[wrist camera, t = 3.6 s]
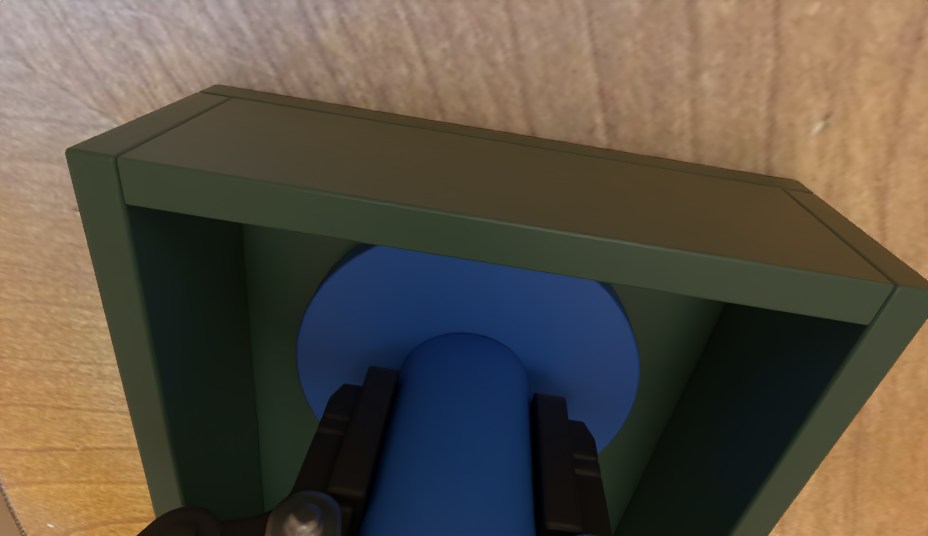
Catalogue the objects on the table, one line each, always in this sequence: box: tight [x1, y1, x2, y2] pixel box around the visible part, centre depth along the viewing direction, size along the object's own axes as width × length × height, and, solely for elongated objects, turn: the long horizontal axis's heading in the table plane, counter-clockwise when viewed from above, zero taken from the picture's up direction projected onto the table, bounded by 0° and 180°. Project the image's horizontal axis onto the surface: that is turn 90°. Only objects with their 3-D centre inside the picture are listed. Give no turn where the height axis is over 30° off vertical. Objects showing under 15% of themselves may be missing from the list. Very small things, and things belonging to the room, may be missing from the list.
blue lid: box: [296, 243, 640, 536], centre depth 12 cm, size 9×9×6 cm
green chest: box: [65, 85, 928, 536], centre depth 14 cm, size 16×14×5 cm
